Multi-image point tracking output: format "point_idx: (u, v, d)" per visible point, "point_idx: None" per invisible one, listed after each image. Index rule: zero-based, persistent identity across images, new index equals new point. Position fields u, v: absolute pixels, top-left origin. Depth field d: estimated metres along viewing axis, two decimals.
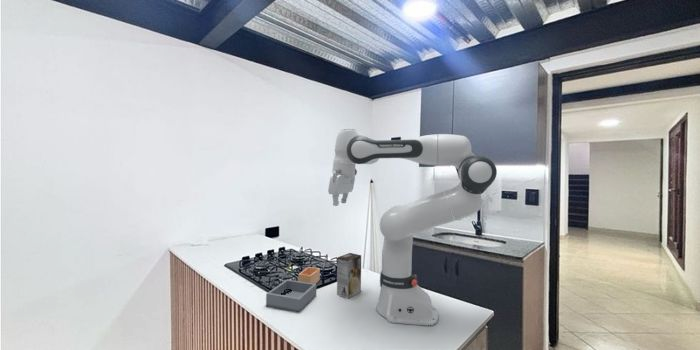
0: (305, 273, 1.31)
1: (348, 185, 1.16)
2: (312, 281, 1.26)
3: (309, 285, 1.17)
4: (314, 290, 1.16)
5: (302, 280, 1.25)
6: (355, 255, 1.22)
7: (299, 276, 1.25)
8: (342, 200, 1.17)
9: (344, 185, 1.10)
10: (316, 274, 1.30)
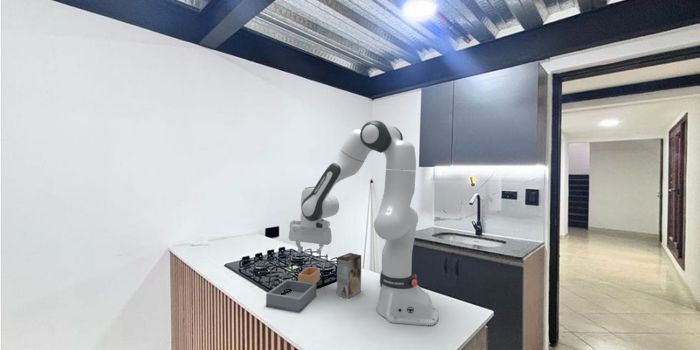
0: (305, 273, 1.31)
1: (315, 237, 1.27)
2: (312, 281, 1.26)
3: (309, 285, 1.17)
4: (314, 290, 1.16)
5: (302, 280, 1.25)
6: (355, 255, 1.22)
7: (299, 276, 1.25)
8: None
9: (304, 235, 1.28)
10: (316, 274, 1.30)
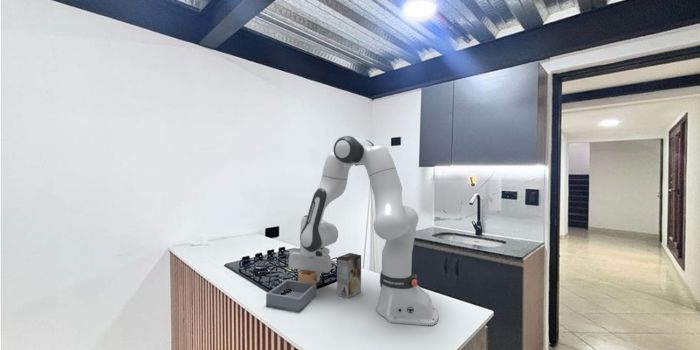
0: (305, 273, 1.31)
1: (315, 265, 1.27)
2: (312, 281, 1.26)
3: (309, 285, 1.17)
4: (314, 290, 1.16)
5: (302, 280, 1.25)
6: (355, 255, 1.22)
7: (299, 276, 1.25)
8: None
9: (304, 262, 1.28)
10: (316, 274, 1.30)
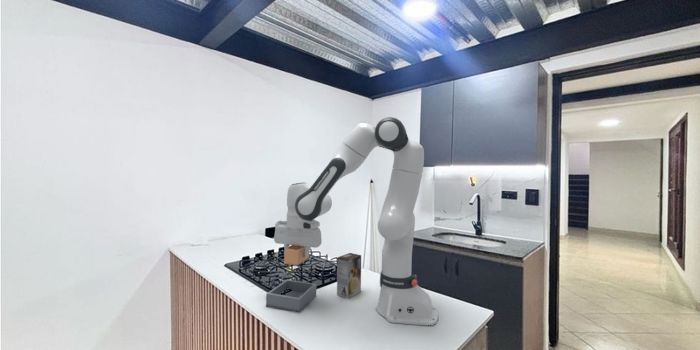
0: (293, 249, 1.18)
1: (303, 238, 1.13)
2: (300, 256, 1.12)
3: (309, 285, 1.17)
4: (314, 290, 1.16)
5: (288, 256, 1.11)
6: (355, 255, 1.22)
7: (285, 251, 1.12)
8: None
9: (290, 236, 1.15)
10: (305, 250, 1.16)
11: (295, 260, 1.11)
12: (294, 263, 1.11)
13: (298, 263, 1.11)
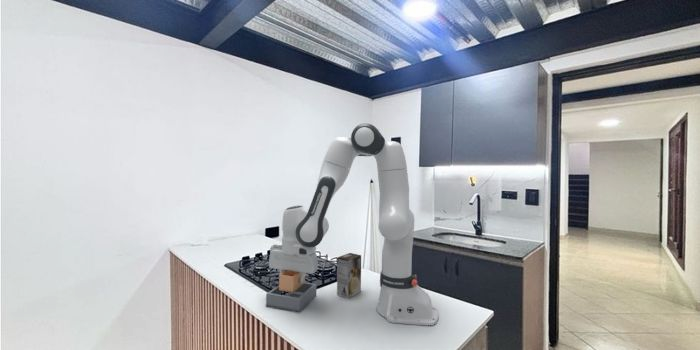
0: (288, 274, 1.14)
1: (298, 264, 1.10)
2: (296, 283, 1.09)
3: (309, 285, 1.17)
4: (314, 290, 1.16)
5: (283, 282, 1.08)
6: (355, 255, 1.22)
7: (280, 277, 1.08)
8: None
9: (286, 261, 1.11)
10: (301, 275, 1.13)
11: (290, 287, 1.07)
12: (289, 290, 1.07)
13: (293, 290, 1.08)
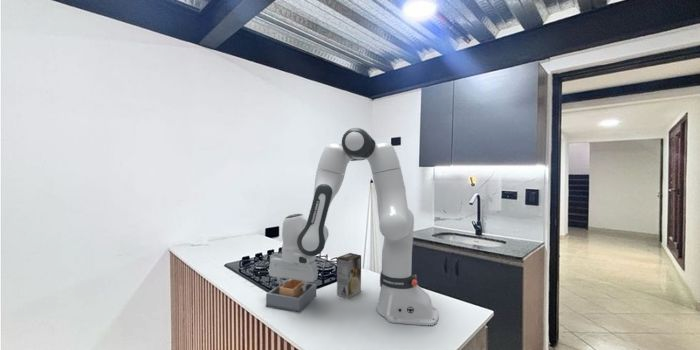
0: (288, 286, 1.14)
1: (298, 273, 1.10)
2: (296, 295, 1.09)
3: (309, 285, 1.17)
4: (314, 290, 1.16)
5: (284, 295, 1.08)
6: (355, 255, 1.22)
7: (280, 290, 1.08)
8: None
9: (286, 270, 1.11)
10: None
11: None
12: None
13: None
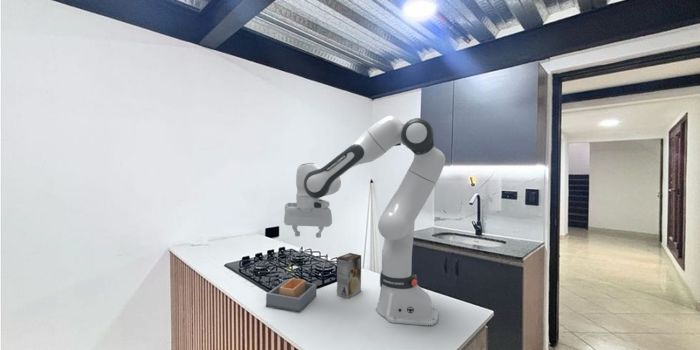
0: (288, 286, 1.14)
1: (313, 218, 1.13)
2: (296, 295, 1.09)
3: (309, 285, 1.17)
4: (314, 290, 1.16)
5: (284, 295, 1.08)
6: (355, 255, 1.22)
7: (280, 290, 1.08)
8: None
9: (301, 217, 1.15)
10: (301, 287, 1.13)
11: None
12: None
13: None
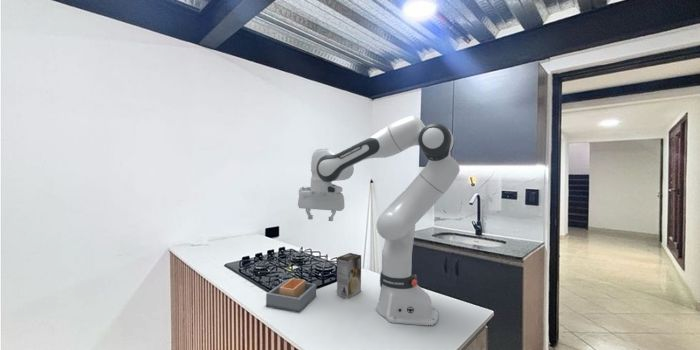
0: (288, 286, 1.14)
1: (326, 202, 1.17)
2: (296, 295, 1.09)
3: (309, 285, 1.17)
4: (314, 290, 1.16)
5: (284, 295, 1.08)
6: (355, 255, 1.22)
7: (280, 290, 1.08)
8: None
9: (314, 201, 1.19)
10: (301, 287, 1.13)
11: None
12: None
13: None
